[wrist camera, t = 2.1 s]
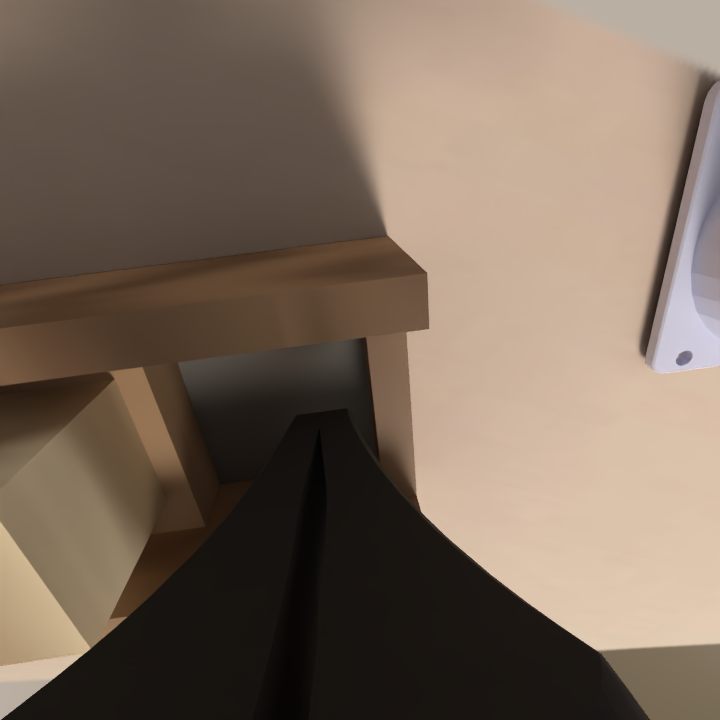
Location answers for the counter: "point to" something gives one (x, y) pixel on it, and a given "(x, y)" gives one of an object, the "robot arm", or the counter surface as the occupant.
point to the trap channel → (227, 367)
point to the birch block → (69, 516)
